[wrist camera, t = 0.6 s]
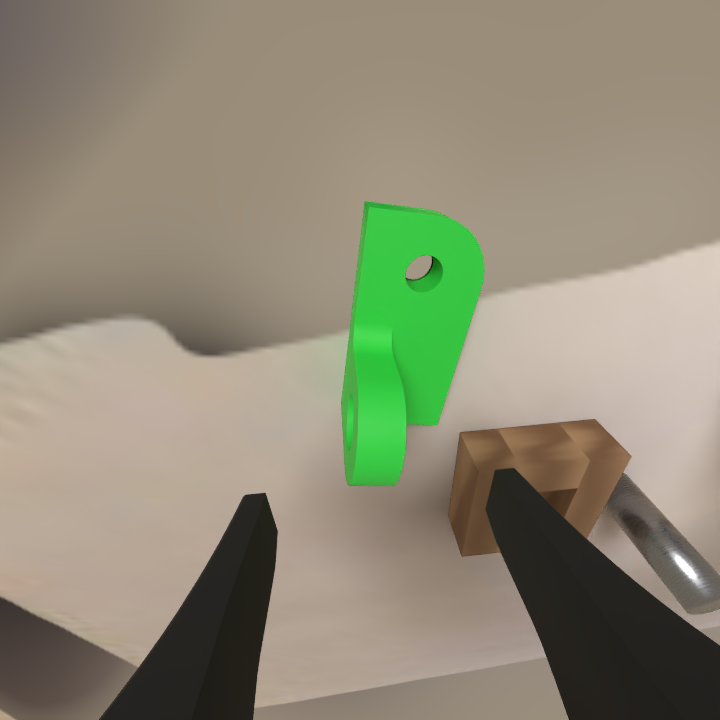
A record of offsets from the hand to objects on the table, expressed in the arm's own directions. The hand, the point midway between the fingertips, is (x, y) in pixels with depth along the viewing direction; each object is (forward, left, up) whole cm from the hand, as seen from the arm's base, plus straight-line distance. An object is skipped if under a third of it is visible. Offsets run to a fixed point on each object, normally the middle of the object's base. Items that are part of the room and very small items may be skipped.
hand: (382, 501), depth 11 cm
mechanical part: (-3, -1, -11) cm, 11 cm away
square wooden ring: (-12, +13, -10) cm, 20 cm away
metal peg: (-21, +16, -10) cm, 28 cm away
